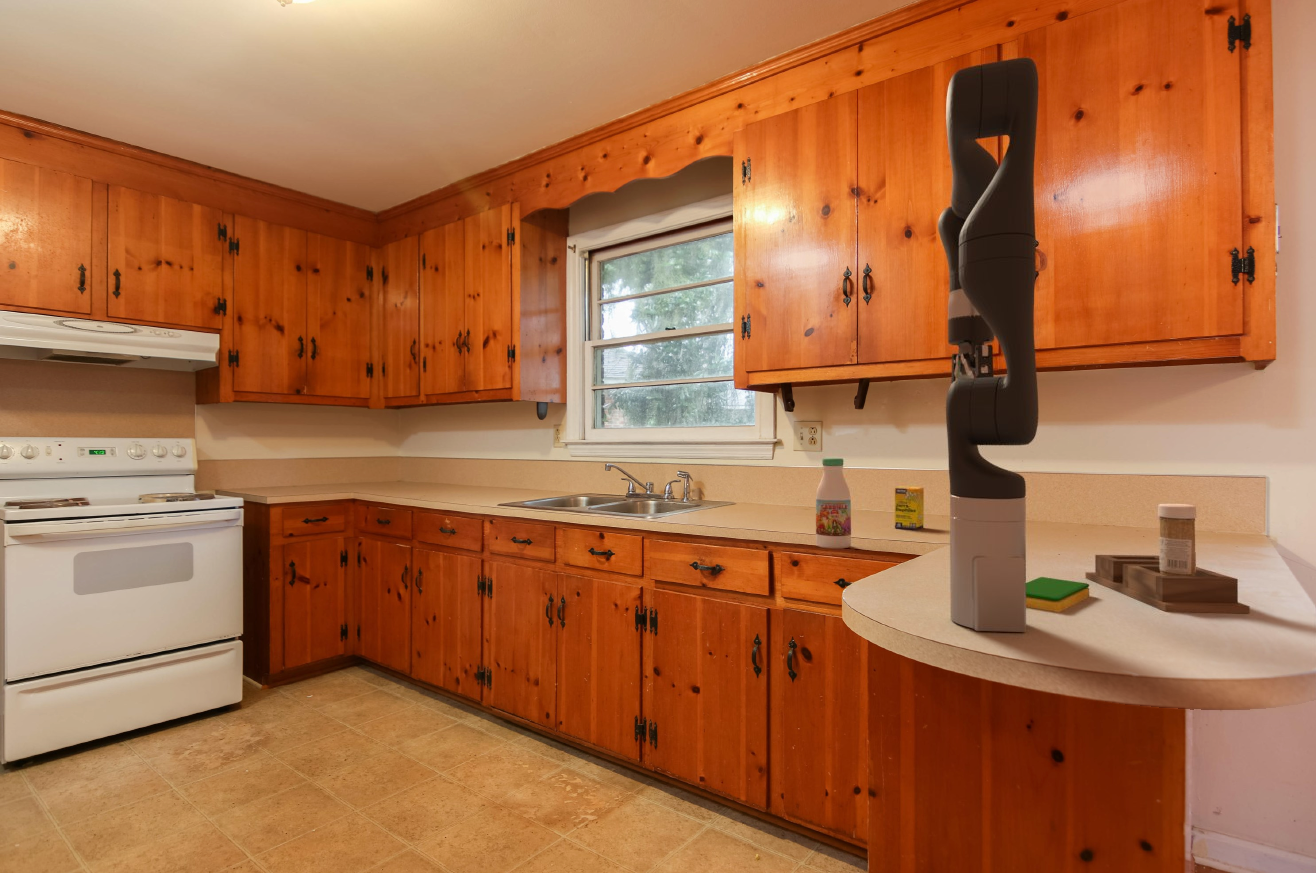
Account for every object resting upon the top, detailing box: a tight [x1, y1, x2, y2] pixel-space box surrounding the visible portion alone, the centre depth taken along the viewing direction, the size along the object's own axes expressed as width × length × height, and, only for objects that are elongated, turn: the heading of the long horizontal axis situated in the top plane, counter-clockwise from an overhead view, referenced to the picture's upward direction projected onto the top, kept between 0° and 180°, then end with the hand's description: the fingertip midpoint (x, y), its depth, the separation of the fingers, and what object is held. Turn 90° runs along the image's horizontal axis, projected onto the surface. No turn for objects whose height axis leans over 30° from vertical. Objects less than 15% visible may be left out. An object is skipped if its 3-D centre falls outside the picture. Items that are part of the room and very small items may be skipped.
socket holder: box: [1085, 554, 1250, 614], centre depth 106 cm, size 22×11×4 cm, turn 173°
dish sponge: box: [1026, 576, 1090, 613], centre depth 103 cm, size 7×14×2 cm, turn 131°
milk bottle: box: [815, 457, 852, 549], centre depth 152 cm, size 8×8×20 cm
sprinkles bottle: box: [1157, 503, 1197, 576], centre depth 101 cm, size 5×5×14 cm
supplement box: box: [894, 485, 925, 531], centre depth 179 cm, size 6×6×11 cm
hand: (971, 407), depth 120 cm, fingers open, 8 cm apart
